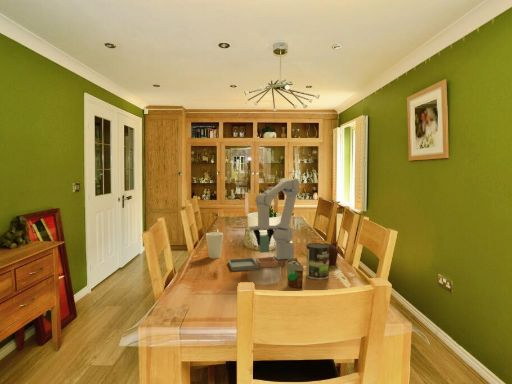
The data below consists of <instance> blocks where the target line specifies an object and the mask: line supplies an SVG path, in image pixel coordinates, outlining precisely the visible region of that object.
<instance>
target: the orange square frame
mask: <svg viewBox="0 0 512 384" xmlns="http://www.w3.org/2000/svg"><path fill="white" fill-rule="evenodd" d="M255 261H256V262H257V263H258V265H259V269H260V268H261V269H262V268H273V267H275V268H277V267H278V265H279V264H278V263H279V262H278V260H277V259H275V257H274V256H265V257H255Z"/></svg>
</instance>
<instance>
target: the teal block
mask: <svg viewBox="0 0 512 384" xmlns="http://www.w3.org/2000/svg"><path fill="white" fill-rule="evenodd" d="M257 247H258V248H257V250H258V252H259V253H269V252H270V245H269V236H268V235H267V234H260V245H258V244H257Z"/></svg>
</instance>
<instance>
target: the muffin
mask: <svg viewBox="0 0 512 384" xmlns="http://www.w3.org/2000/svg"><path fill="white" fill-rule="evenodd" d="M324 244H327V245H329V246H330V247H329V267H330V266H335V265H336V264H337V261H338V256H339V255H338V254H339V249H338V248H337V247H336V246H335V245H333V243H324Z"/></svg>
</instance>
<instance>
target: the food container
mask: <svg viewBox="0 0 512 384" xmlns="http://www.w3.org/2000/svg"><path fill="white" fill-rule="evenodd" d="M284 267H285V268H286V276H287V279H286V280H287V286H288V287H289V288H291V289H296V290H303V283H304V282H303V281H304V280H303V278H304V276H303V275H304V265H302V264H301V263H300V262H299V261H298V257H294V258H292V259H286V261H285V266H284Z"/></svg>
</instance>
